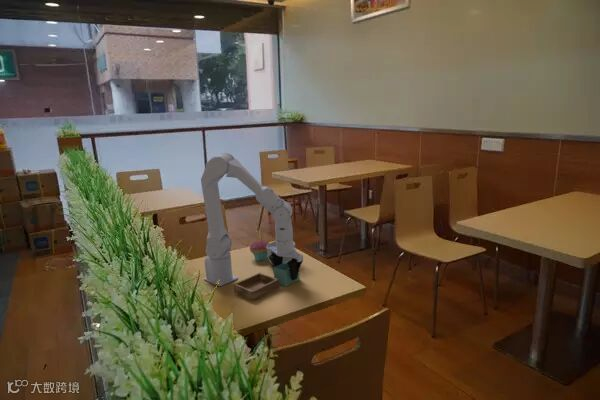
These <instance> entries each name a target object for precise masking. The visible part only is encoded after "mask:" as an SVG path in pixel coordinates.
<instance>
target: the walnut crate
mask: <svg viewBox="0 0 600 400" xmlns="http://www.w3.org/2000/svg"><path fill="white" fill-rule="evenodd" d="M232 285H233V293H235V294H237V295H239V296H241V297H243V298H245V299H248V300H250V301H251V302H252V301H253V302H255V301H256V300H258V299H260V298H262V297H264V296H266V295H268V294H270V293H271V292H274V291H276V290H278V289H280V285H279V279H276V278H274V276H271V275H268V274H264V273H262V272H258V273H256V274H254V275H251V276H249V277H246V278H243V279H242V280H239V281H238V282H235V283H233V284H232Z"/></svg>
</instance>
